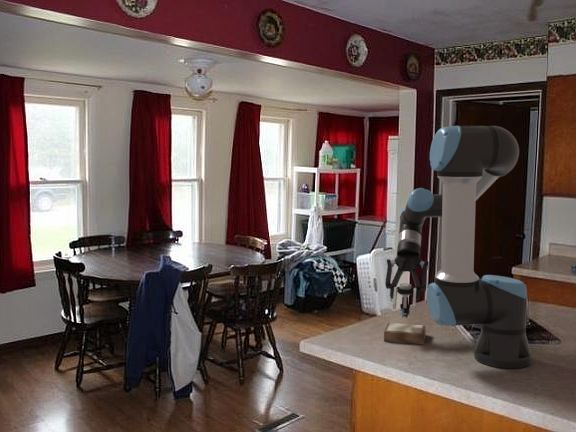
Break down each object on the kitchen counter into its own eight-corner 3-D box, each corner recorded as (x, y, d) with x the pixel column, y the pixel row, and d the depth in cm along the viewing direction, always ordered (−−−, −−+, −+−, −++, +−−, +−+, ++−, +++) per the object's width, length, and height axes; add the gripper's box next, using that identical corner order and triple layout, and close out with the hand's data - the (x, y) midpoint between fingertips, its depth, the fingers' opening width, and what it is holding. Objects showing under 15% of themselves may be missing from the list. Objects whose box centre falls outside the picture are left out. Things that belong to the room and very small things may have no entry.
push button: (413, 319, 177) (413, 288, 176) (395, 318, 179) (396, 287, 178) (413, 314, 184) (414, 283, 183) (396, 313, 185) (397, 282, 184)
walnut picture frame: (425, 334, 184) (425, 324, 184) (423, 344, 175) (423, 333, 175) (387, 331, 188) (387, 322, 188) (384, 341, 178) (384, 330, 178)
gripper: (437, 254, 191) (434, 315, 177) (382, 252, 197) (375, 311, 183) (437, 240, 186) (434, 303, 172) (380, 239, 191) (373, 299, 177)
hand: (404, 307), depth 177 cm, fingers closed on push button, 5 cm apart
